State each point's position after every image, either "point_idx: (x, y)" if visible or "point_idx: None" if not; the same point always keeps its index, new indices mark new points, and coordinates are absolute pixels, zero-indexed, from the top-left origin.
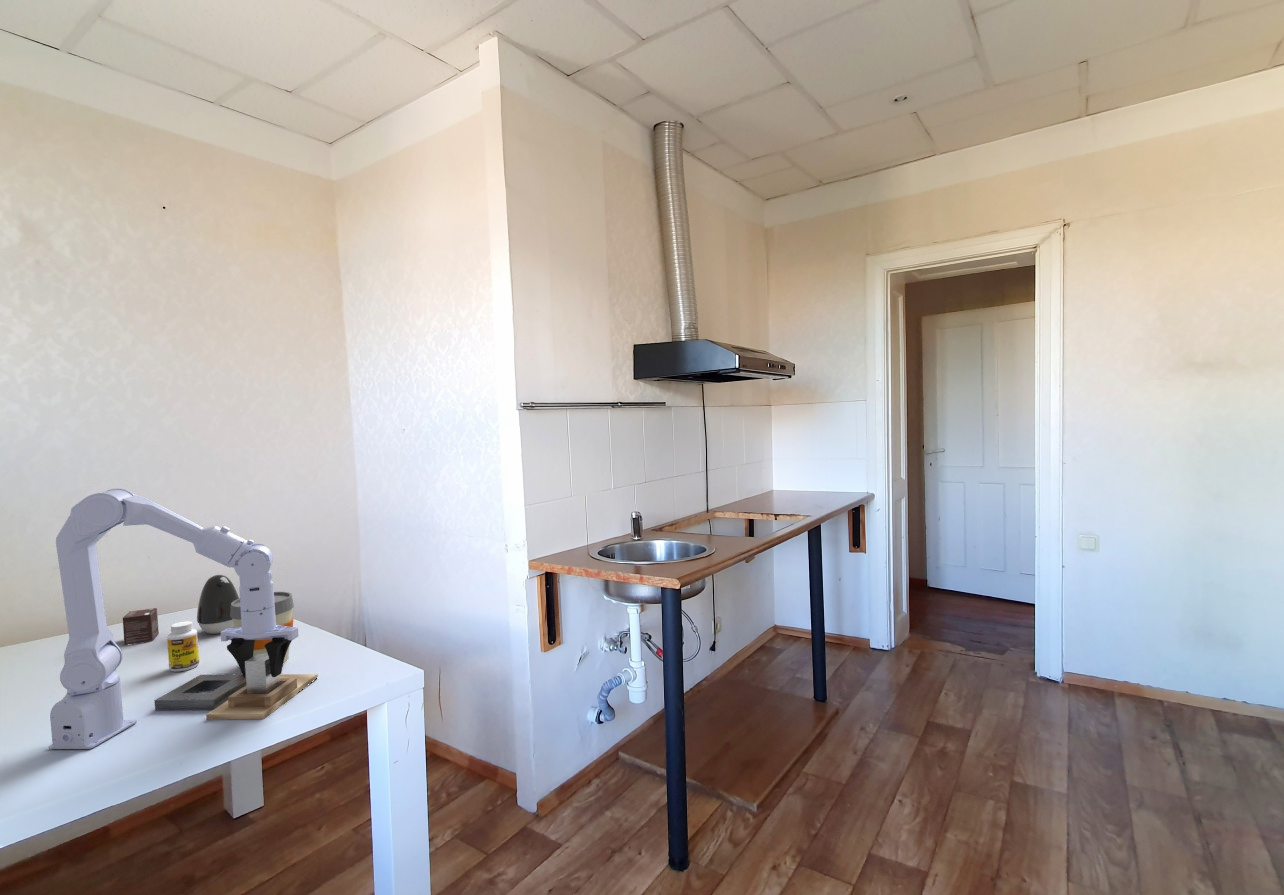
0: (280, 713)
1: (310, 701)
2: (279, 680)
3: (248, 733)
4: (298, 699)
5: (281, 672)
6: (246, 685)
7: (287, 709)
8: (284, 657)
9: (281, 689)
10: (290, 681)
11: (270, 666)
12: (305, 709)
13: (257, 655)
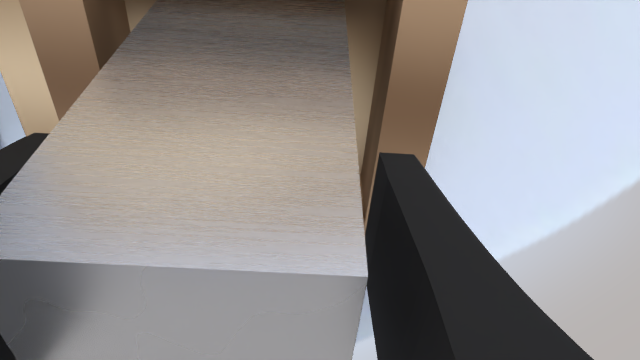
0: (452, 201)
1: (600, 75)
2: (346, 42)
3: None
4: (503, 35)
5: (419, 161)
6: (47, 68)
7: (475, 164)
8: (505, 277)
9: (426, 151)
10: (450, 15)
11: (380, 356)
12: (586, 173)
13: (35, 319)
